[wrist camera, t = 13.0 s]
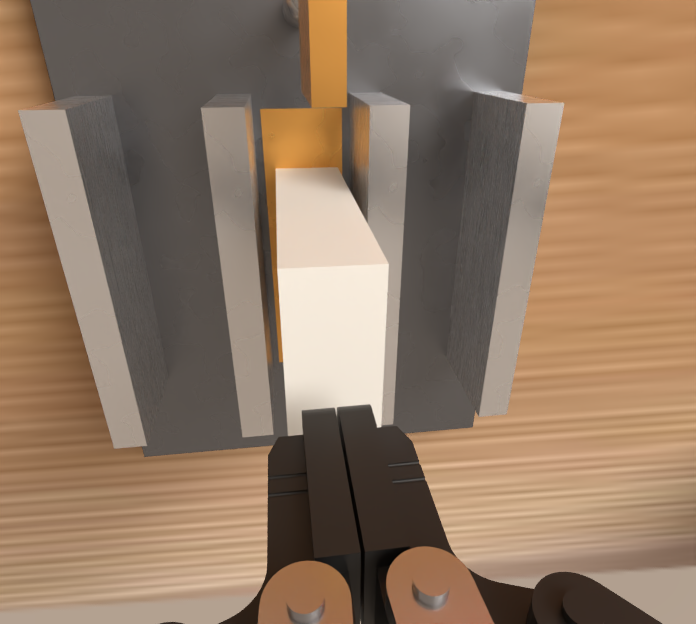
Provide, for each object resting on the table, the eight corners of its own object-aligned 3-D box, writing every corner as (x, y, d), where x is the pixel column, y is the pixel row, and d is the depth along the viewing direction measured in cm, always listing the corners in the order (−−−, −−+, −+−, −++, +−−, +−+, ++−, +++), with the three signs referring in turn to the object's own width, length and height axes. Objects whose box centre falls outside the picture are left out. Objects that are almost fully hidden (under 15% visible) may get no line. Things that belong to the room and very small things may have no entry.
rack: (524, -48, 19) (880, -183, 8) (463, 409, 28) (581, 634, 18) (33, -60, 17) (-422, -260, 6) (150, 436, 26) (65, 708, 16)
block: (337, 167, 20) (388, 264, 11) (338, 323, 23) (377, 494, 14) (275, 168, 19) (277, 268, 11) (284, 326, 23) (292, 503, 14)
